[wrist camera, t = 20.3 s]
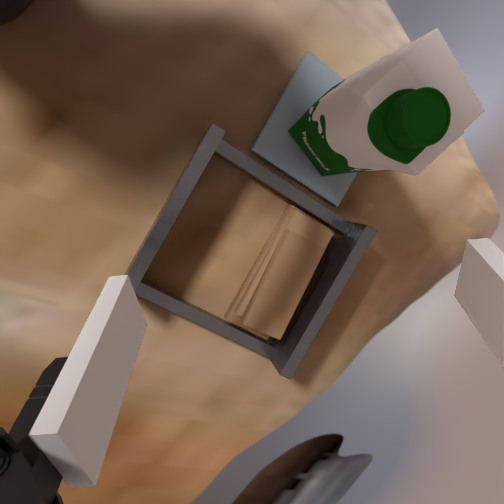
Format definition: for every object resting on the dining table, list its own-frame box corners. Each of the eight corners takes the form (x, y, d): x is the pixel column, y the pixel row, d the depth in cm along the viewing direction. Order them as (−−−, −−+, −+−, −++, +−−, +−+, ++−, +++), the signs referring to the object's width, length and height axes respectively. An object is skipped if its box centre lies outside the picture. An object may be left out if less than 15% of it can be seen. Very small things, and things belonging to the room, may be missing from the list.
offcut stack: (224, 315, 47) (231, 329, 43) (288, 204, 47) (302, 206, 42) (263, 335, 49) (274, 350, 45) (325, 228, 49) (343, 232, 44)
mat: (250, 150, 45) (252, 149, 44) (305, 54, 45) (308, 51, 44) (334, 206, 49) (338, 206, 48) (385, 117, 48) (390, 116, 47)
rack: (119, 282, 44) (113, 297, 38) (205, 131, 43) (213, 122, 38) (274, 357, 50) (290, 379, 44) (351, 226, 50) (376, 231, 44)
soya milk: (276, 130, 44) (368, 85, 25) (332, 80, 45) (462, -1, 26) (320, 187, 47) (434, 187, 28) (372, 139, 47) (519, 106, 28)
